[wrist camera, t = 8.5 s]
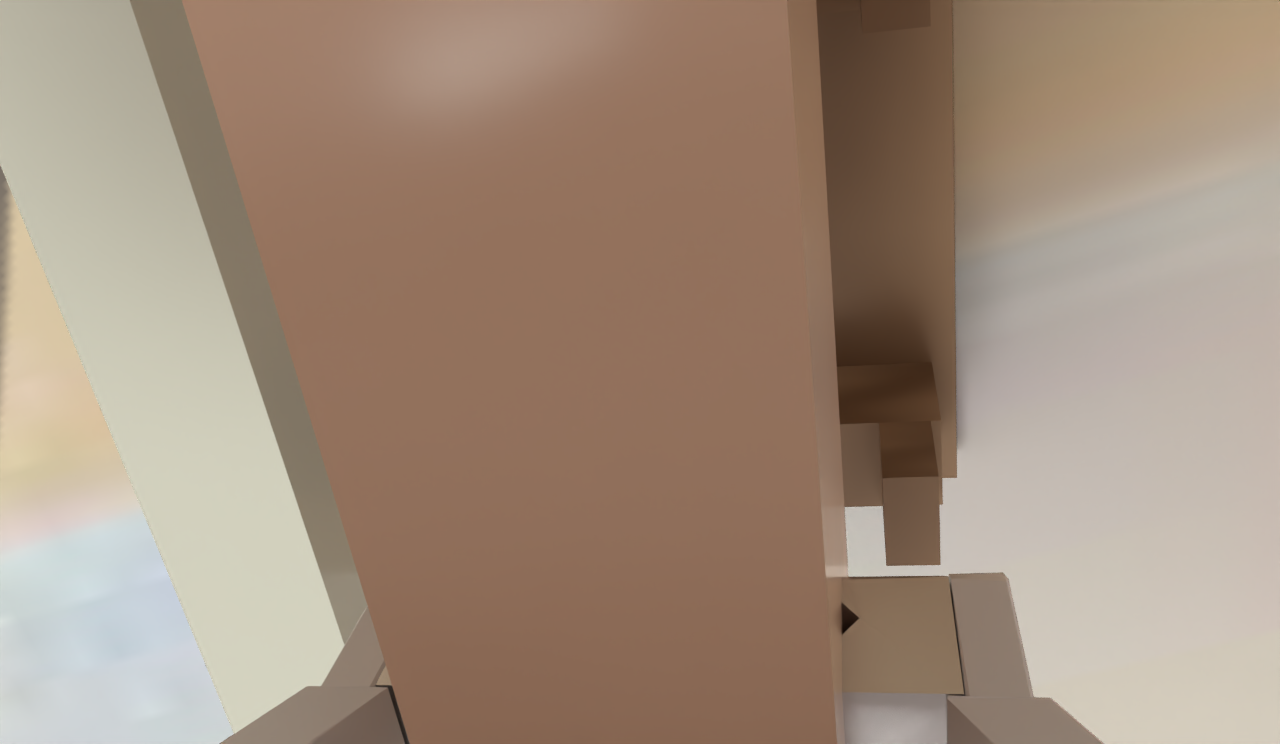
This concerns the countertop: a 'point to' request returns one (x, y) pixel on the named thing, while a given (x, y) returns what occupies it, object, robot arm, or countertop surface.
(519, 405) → the clay strip
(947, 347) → the walnut drying rack
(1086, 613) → the countertop surface
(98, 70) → the cream rectangular bar
